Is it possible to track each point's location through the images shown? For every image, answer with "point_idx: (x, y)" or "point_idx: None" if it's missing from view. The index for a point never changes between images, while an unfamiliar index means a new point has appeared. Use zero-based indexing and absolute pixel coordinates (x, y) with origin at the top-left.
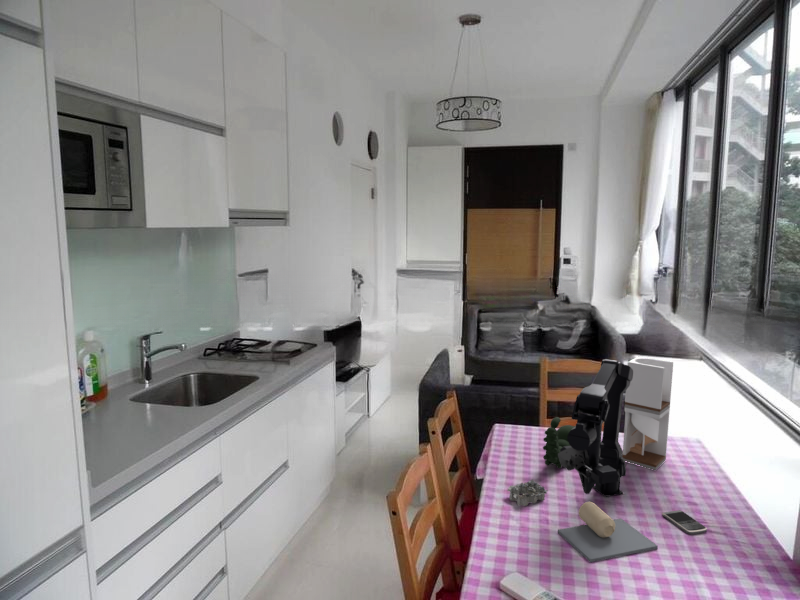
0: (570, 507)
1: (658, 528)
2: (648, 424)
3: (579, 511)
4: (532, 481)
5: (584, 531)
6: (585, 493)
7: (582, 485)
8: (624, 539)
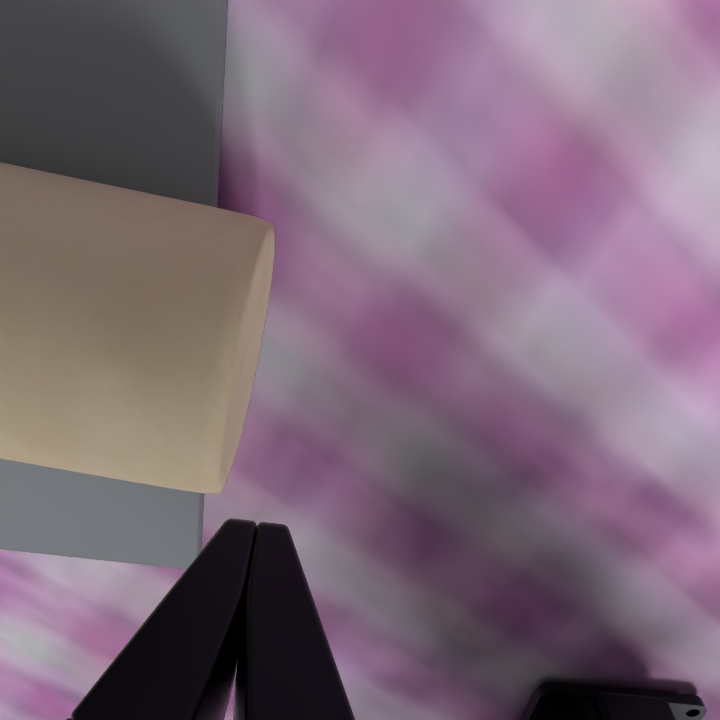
0: (612, 363)
1: (28, 666)
2: None
3: (238, 234)
4: None
5: (73, 96)
6: (239, 519)
7: (302, 631)
8: None
